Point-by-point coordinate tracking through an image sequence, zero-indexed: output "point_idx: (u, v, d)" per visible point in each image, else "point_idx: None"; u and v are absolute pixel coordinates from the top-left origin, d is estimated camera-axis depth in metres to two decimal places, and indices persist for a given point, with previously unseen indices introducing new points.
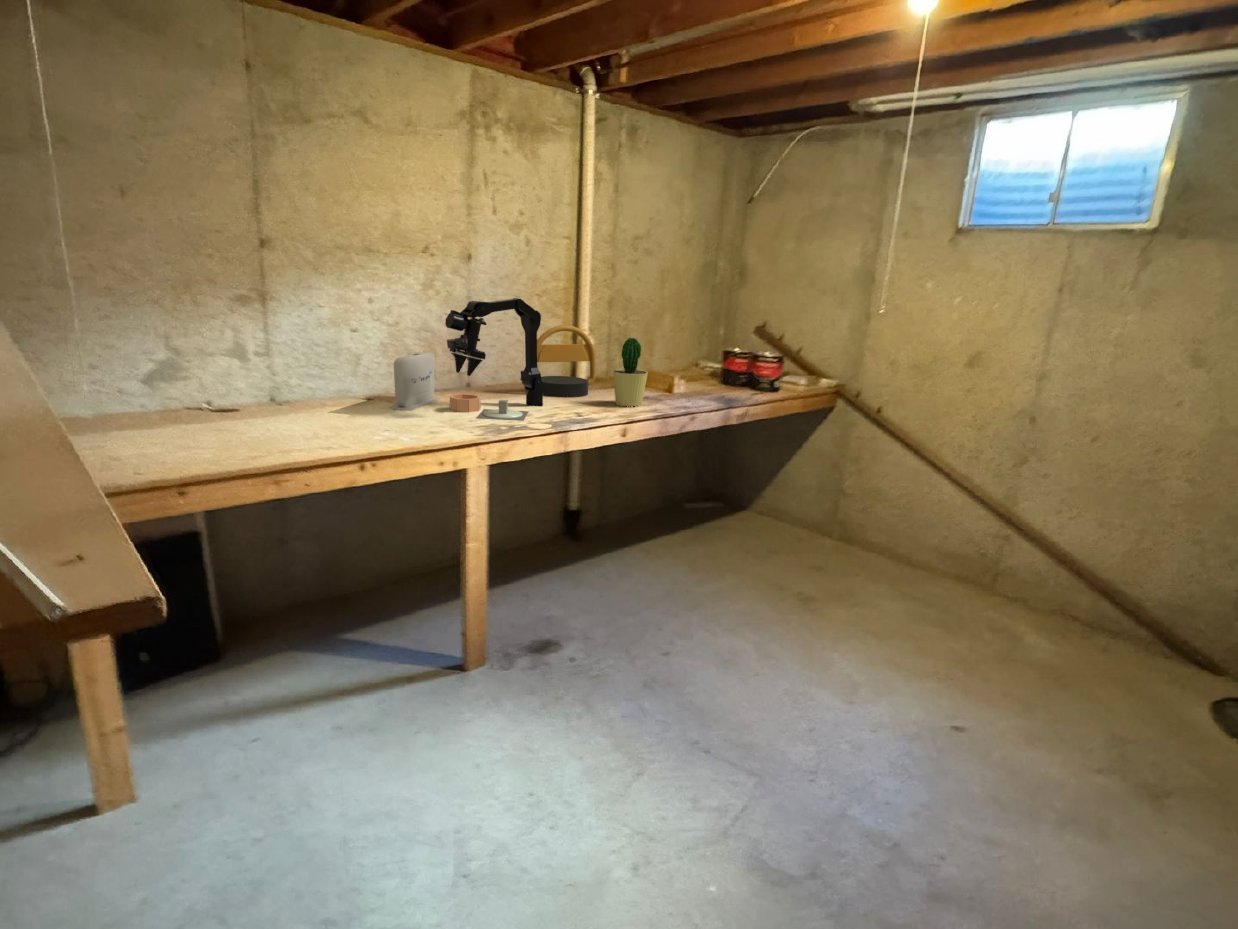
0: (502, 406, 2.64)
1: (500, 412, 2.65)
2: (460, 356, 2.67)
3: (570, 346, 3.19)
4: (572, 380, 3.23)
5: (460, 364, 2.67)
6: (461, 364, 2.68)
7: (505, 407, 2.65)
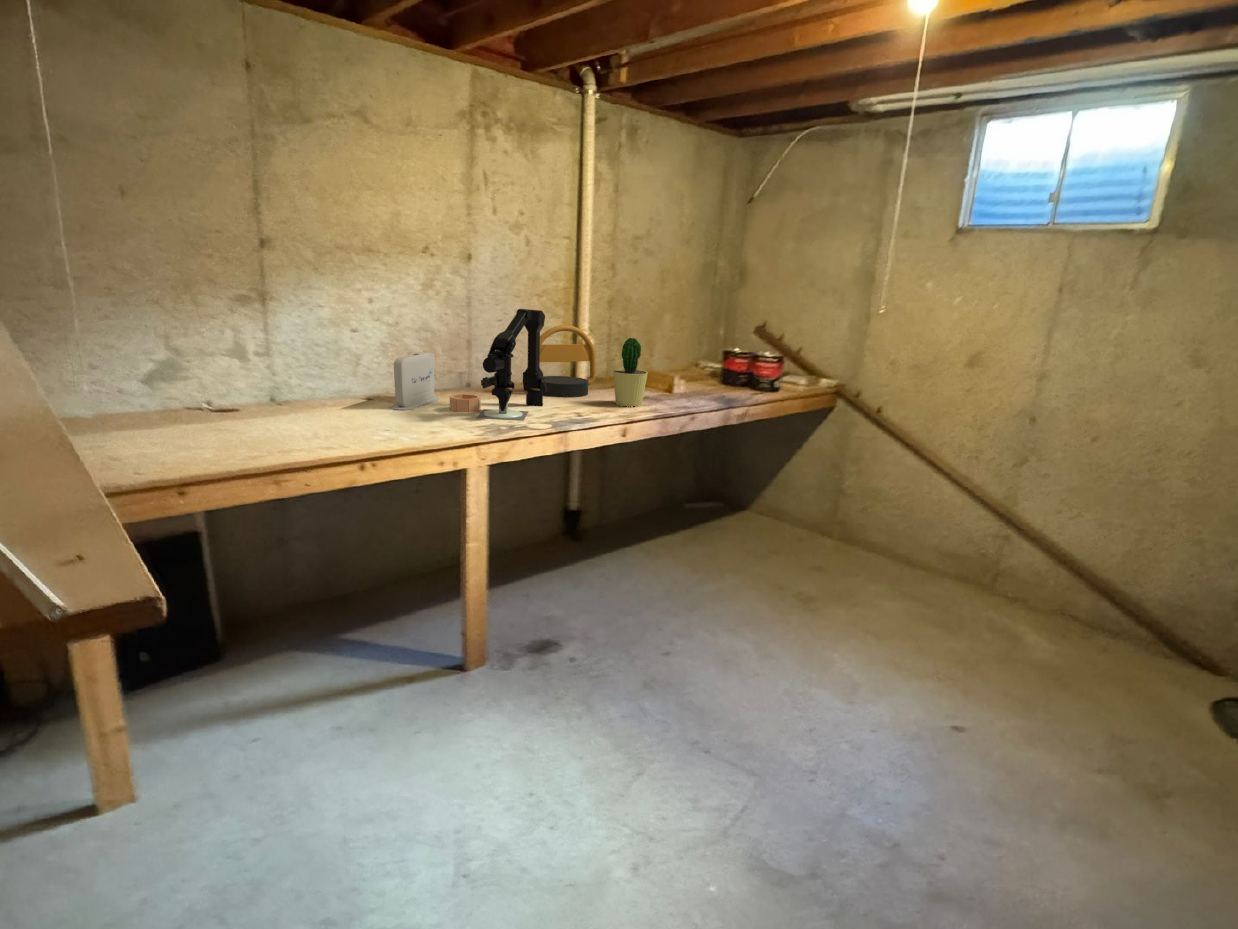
0: None
1: (500, 412, 2.65)
2: None
3: (570, 346, 3.19)
4: (572, 380, 3.23)
5: None
6: None
7: (505, 407, 2.65)
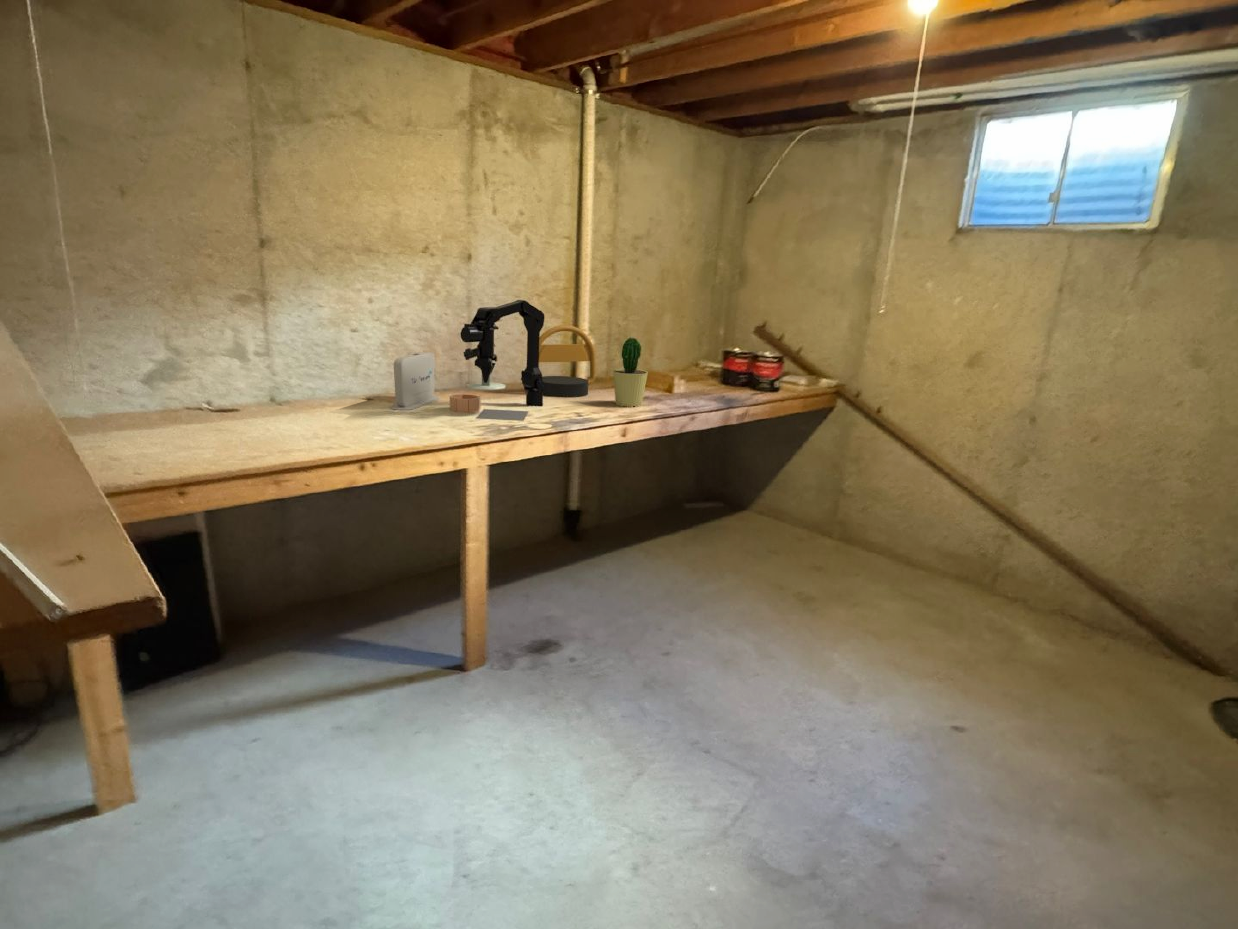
0: None
1: (483, 384, 2.65)
2: None
3: (570, 346, 3.19)
4: (572, 380, 3.23)
5: None
6: None
7: (488, 379, 2.64)
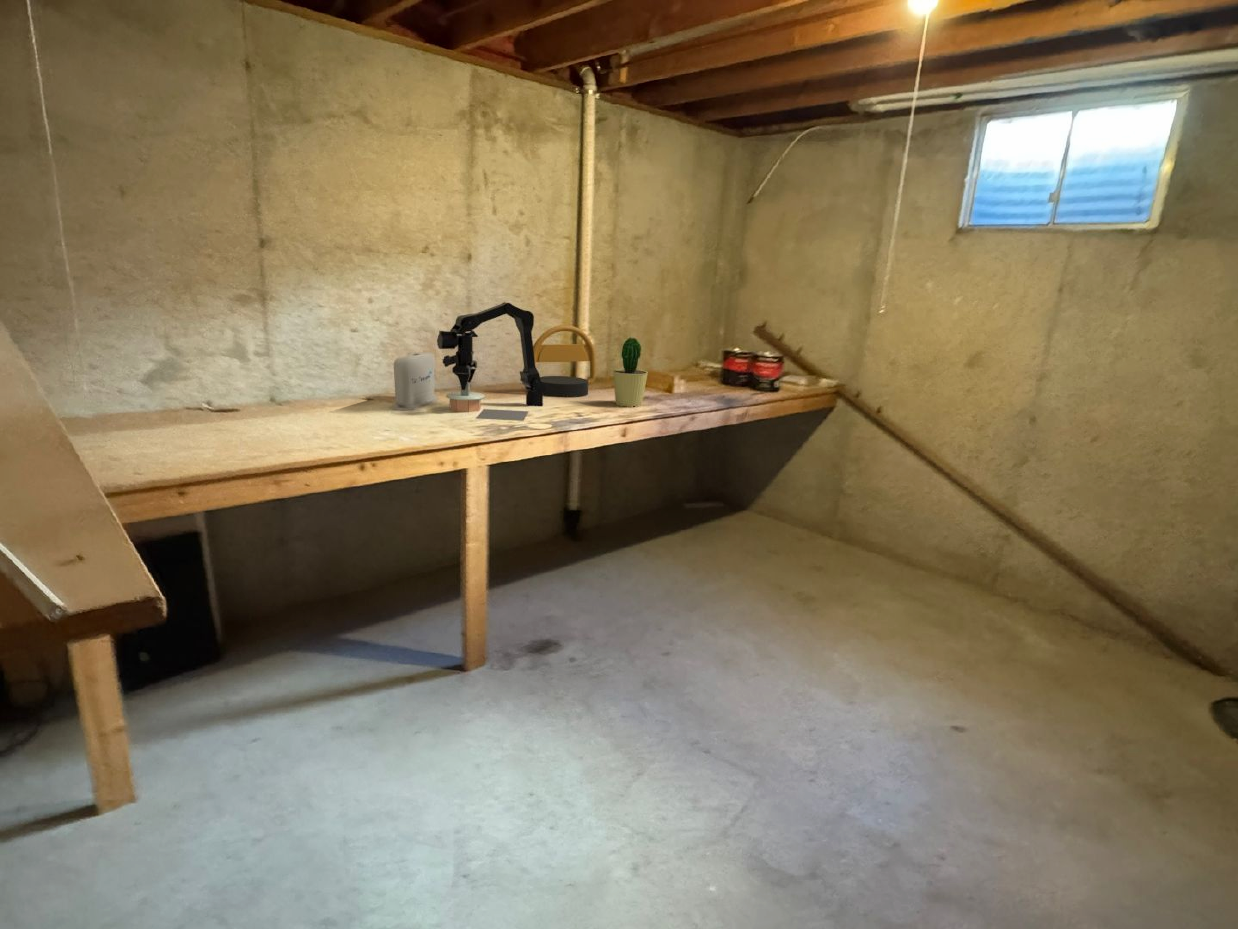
0: None
1: (462, 394, 2.70)
2: None
3: (570, 346, 3.19)
4: (572, 380, 3.23)
5: (468, 378, 2.74)
6: (469, 378, 2.74)
7: (467, 389, 2.70)
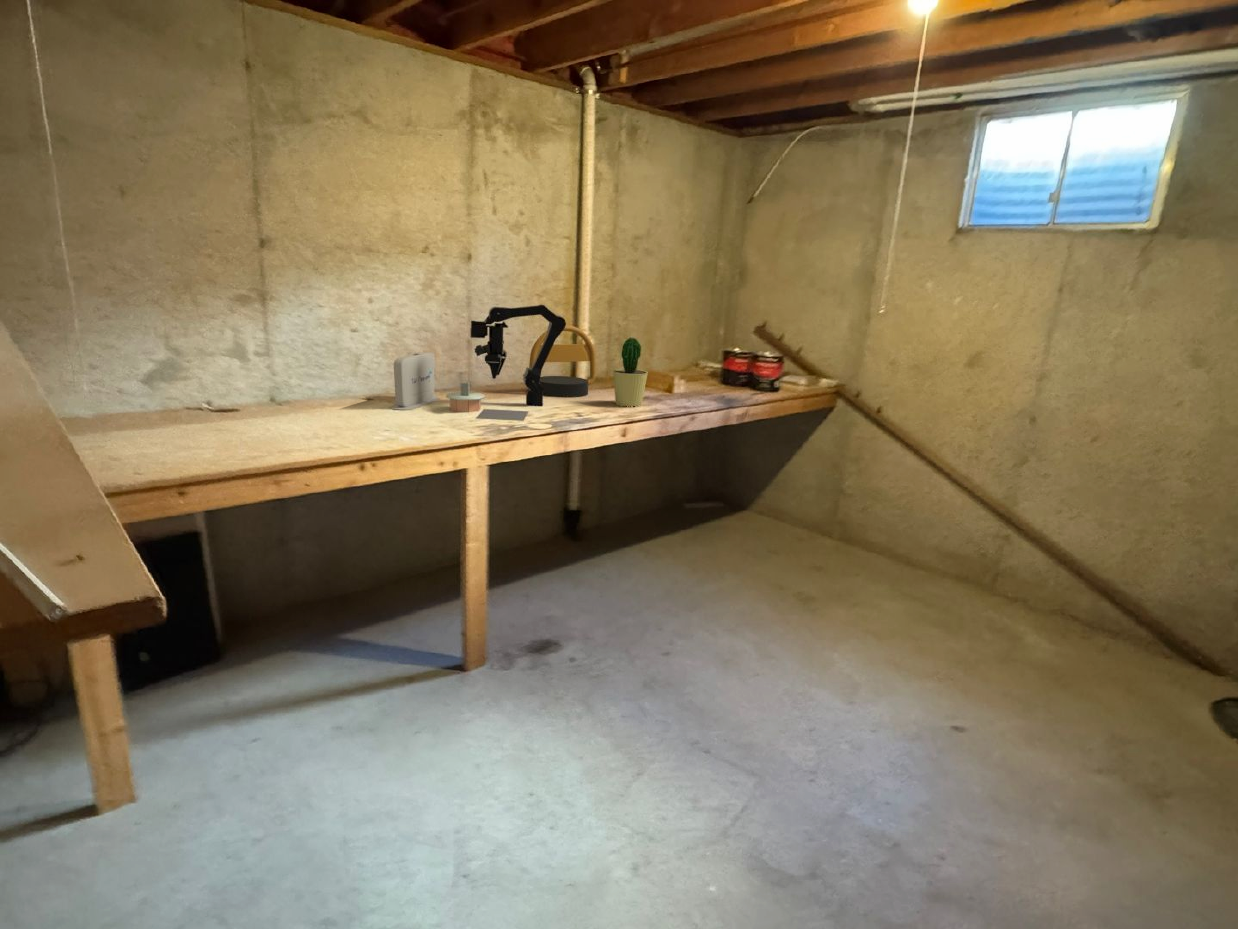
0: (464, 388, 2.69)
1: (462, 394, 2.70)
2: None
3: (570, 346, 3.19)
4: (572, 380, 3.23)
5: None
6: (500, 367, 2.86)
7: (467, 389, 2.70)
